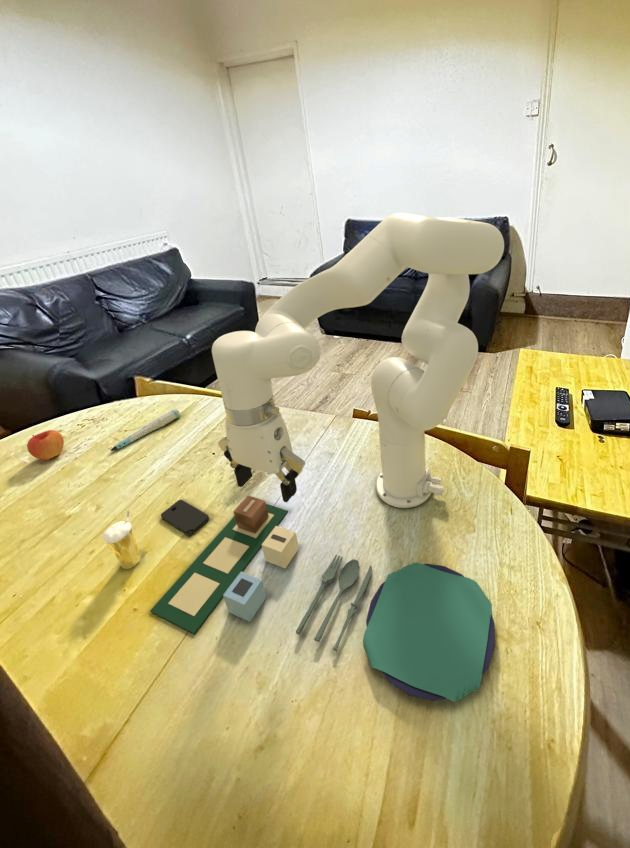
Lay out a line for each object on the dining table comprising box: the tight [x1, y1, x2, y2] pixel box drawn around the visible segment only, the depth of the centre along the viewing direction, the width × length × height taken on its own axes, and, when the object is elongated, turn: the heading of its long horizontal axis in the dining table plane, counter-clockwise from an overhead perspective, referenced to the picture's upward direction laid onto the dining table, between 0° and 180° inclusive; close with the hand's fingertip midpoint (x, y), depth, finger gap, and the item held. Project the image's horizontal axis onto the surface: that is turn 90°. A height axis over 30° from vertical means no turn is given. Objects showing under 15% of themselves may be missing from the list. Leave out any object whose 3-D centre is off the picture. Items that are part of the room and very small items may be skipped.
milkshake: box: [102, 510, 142, 570], centre depth 77 cm, size 5×5×10 cm
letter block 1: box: [232, 494, 269, 533], centre depth 84 cm, size 4×4×5 cm
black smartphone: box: [160, 499, 210, 537], centre depth 88 cm, size 5×1×10 cm
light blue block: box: [223, 571, 268, 623], centre depth 69 cm, size 4×4×5 cm
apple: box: [26, 429, 65, 461], centre depth 108 cm, size 7×7×8 cm
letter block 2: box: [261, 525, 300, 570], centre depth 78 cm, size 4×4×5 cm
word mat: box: [149, 503, 289, 635], centre depth 79 cm, size 10×26×1 cm, turn 157°
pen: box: [109, 408, 182, 452], centre depth 115 cm, size 19×3×3 cm, turn 145°
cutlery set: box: [295, 554, 496, 703], centre depth 66 cm, size 20×30×2 cm, turn 69°
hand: (267, 488), depth 73 cm, fingers open, 9 cm apart
